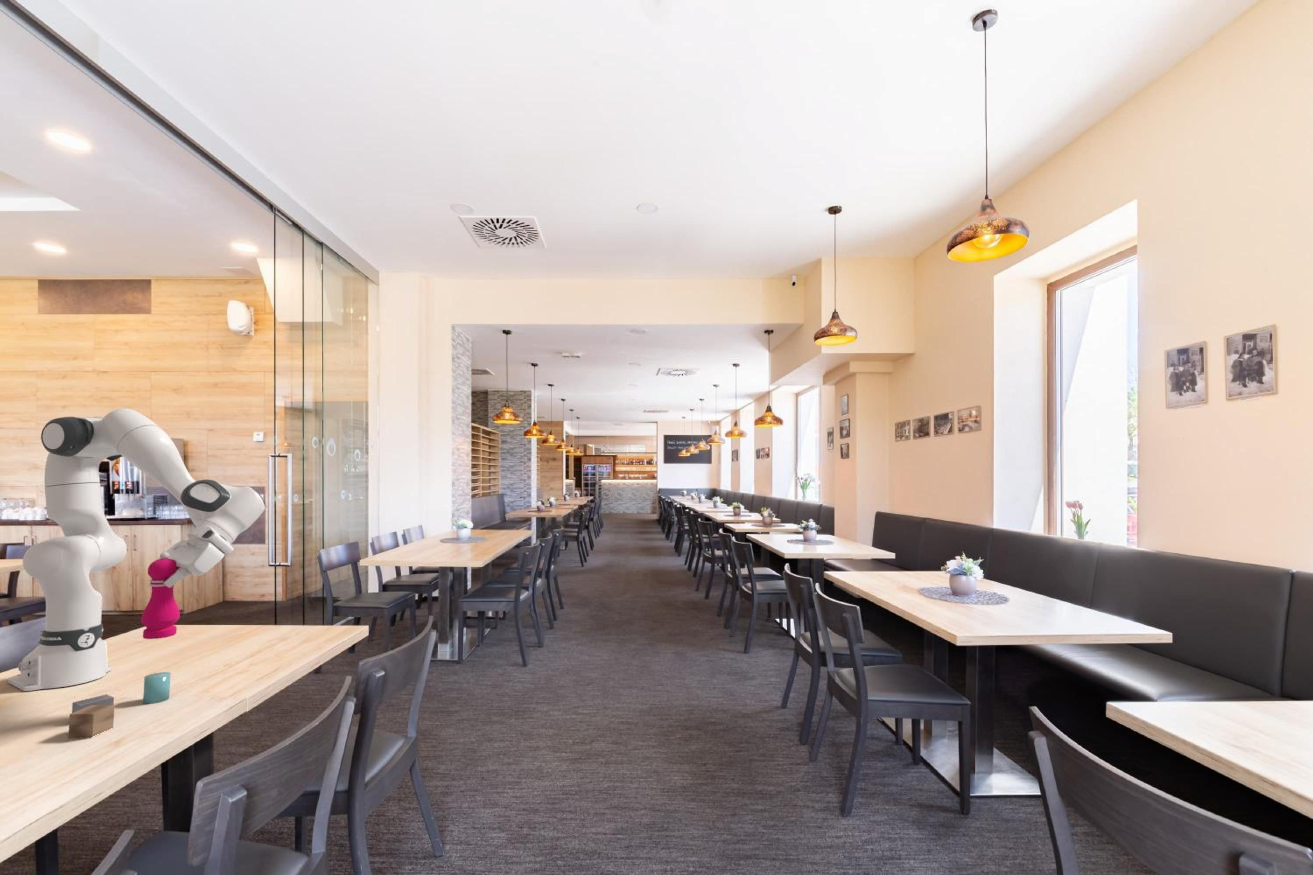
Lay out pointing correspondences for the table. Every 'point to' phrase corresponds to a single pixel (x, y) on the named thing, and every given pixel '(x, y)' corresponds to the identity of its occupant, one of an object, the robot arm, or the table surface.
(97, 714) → the walnut block
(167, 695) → the teal glazed cylinder
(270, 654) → the table surface
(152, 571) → the pepper mill
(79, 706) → the charcoal block
